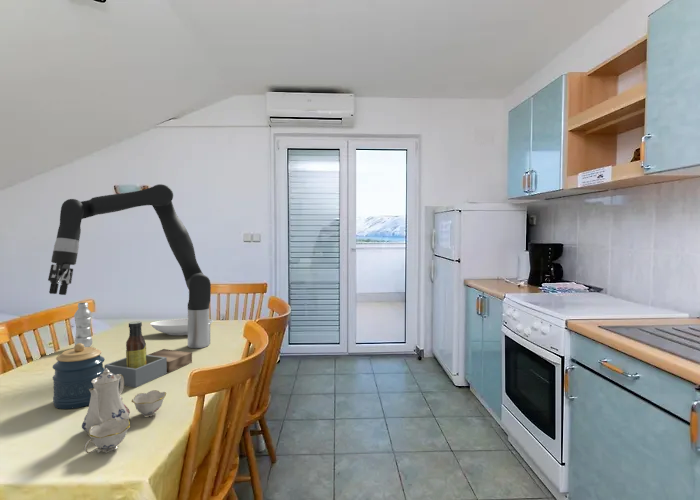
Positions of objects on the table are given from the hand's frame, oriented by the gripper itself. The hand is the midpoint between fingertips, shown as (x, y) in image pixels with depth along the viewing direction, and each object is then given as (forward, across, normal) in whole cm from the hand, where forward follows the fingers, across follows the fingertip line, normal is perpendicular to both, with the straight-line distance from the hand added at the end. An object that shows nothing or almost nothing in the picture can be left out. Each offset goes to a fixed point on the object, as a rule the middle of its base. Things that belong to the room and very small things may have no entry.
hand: (57, 294), depth 142 cm
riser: (+25, -1, -40) cm, 47 cm away
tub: (+28, -12, -32) cm, 44 cm away
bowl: (+16, +48, -40) cm, 65 cm away
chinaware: (+35, -50, -36) cm, 71 cm away
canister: (+32, -27, -20) cm, 47 cm away
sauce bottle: (+28, -12, -32) cm, 44 cm away
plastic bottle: (+22, +33, -2) cm, 40 cm away
